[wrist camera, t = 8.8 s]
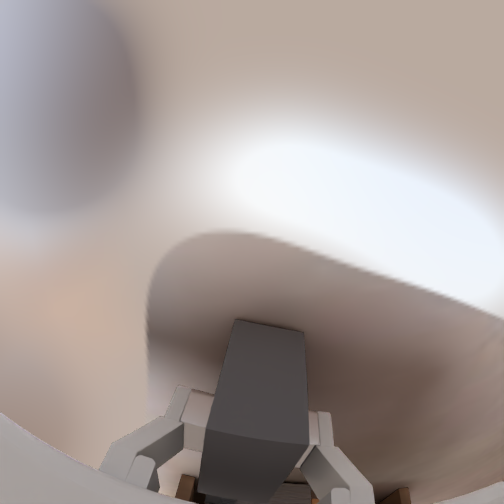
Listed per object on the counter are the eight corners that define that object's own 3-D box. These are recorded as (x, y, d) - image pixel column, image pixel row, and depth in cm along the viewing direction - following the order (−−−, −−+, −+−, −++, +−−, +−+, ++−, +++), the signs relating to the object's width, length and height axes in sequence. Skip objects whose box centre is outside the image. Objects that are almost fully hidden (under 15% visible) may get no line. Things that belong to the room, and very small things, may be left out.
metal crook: (409, 347, 11) (450, 440, 6) (302, 493, 16) (300, 548, 12) (235, 319, 11) (205, 428, 6) (205, 480, 17) (191, 535, 12)
